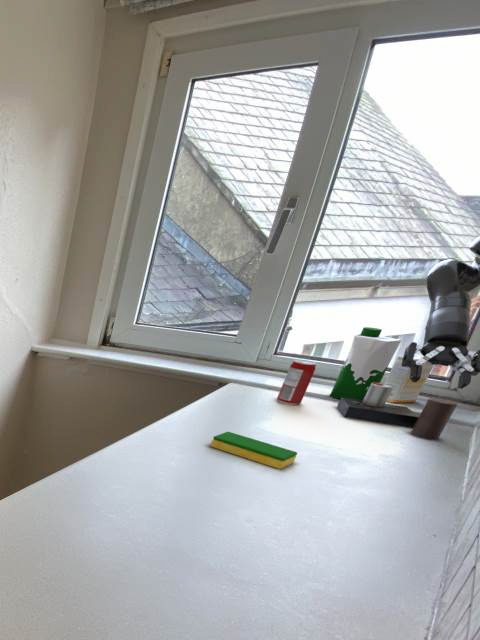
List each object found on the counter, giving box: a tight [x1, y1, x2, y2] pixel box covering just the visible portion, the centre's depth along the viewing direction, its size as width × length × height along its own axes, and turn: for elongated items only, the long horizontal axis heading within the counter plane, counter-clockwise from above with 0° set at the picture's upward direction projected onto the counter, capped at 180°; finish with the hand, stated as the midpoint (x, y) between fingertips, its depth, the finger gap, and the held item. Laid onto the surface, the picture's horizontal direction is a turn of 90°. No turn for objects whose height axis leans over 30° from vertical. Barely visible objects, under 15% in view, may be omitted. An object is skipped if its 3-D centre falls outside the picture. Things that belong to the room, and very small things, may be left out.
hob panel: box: [336, 397, 419, 429], centre depth 146 cm, size 14×10×3 cm
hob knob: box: [362, 382, 393, 407], centre depth 145 cm, size 4×4×6 cm
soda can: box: [276, 359, 317, 406], centre depth 154 cm, size 6×6×12 cm
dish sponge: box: [210, 431, 298, 470], centre depth 119 cm, size 7×14×2 cm, turn 34°
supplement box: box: [384, 354, 435, 404], centre depth 160 cm, size 8×5×13 cm, turn 100°
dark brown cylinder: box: [409, 397, 459, 441], centre depth 133 cm, size 5×5×9 cm
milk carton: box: [329, 326, 402, 400], centre depth 158 cm, size 9×9×20 cm
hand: (438, 383), depth 135 cm, fingers open, 8 cm apart
